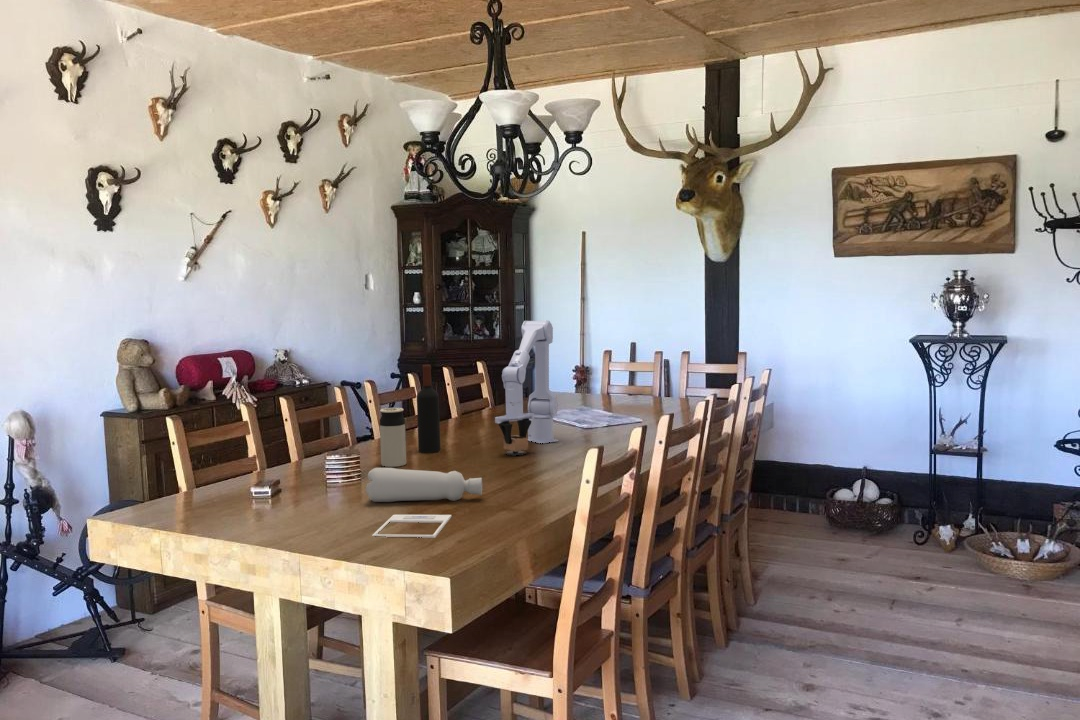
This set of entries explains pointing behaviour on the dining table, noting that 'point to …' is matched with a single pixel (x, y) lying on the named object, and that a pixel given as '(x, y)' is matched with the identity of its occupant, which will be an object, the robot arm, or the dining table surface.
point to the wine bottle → (428, 415)
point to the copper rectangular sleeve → (516, 443)
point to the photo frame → (417, 518)
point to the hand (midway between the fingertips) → (515, 442)
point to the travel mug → (392, 437)
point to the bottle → (418, 485)
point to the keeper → (515, 453)
